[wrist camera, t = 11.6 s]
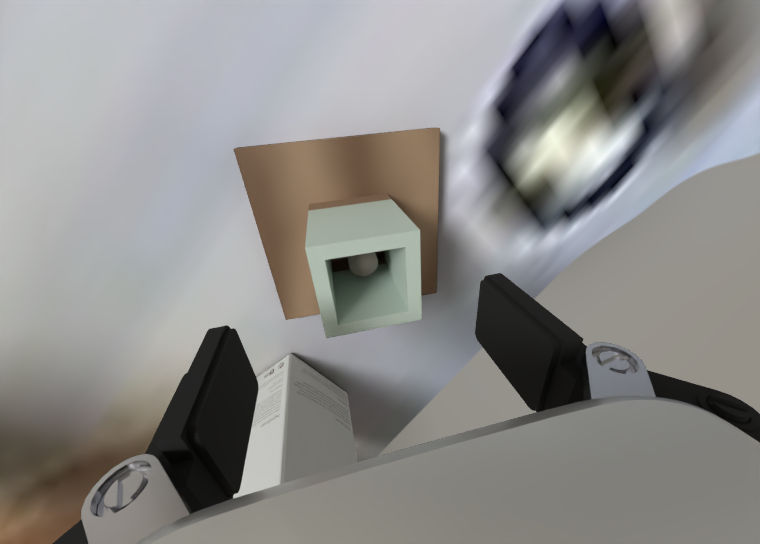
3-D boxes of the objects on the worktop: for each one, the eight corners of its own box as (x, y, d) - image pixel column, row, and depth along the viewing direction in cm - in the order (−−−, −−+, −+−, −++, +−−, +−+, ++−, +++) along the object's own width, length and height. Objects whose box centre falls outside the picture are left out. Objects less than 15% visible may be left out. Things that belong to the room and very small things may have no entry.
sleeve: (308, 204, 18) (304, 247, 12) (386, 193, 19) (420, 229, 12) (323, 272, 20) (326, 338, 14) (391, 261, 21) (421, 319, 15)
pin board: (287, 312, 22) (279, 364, 18) (237, 147, 17) (206, 159, 12) (432, 286, 24) (460, 327, 19) (434, 127, 18) (475, 131, 13)
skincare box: (237, 387, 25) (146, 697, 12) (294, 347, 24) (266, 632, 11) (303, 425, 29) (291, 688, 16) (354, 392, 28) (387, 640, 15)
